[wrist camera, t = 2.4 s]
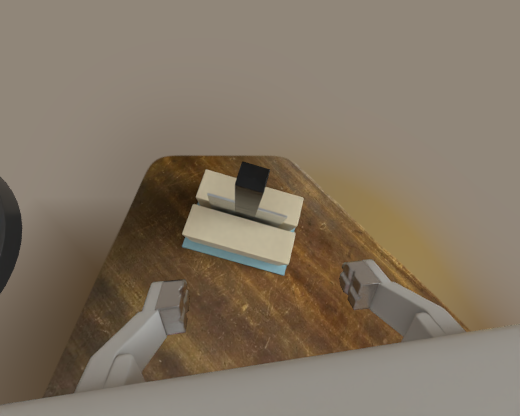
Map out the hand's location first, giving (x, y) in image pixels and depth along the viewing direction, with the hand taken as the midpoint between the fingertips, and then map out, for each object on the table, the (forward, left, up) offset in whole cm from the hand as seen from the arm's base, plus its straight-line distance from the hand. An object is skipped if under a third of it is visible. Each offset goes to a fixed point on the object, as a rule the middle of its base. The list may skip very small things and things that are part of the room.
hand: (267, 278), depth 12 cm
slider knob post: (-2, +6, -15) cm, 16 cm away
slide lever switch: (-2, +6, -20) cm, 21 cm away
